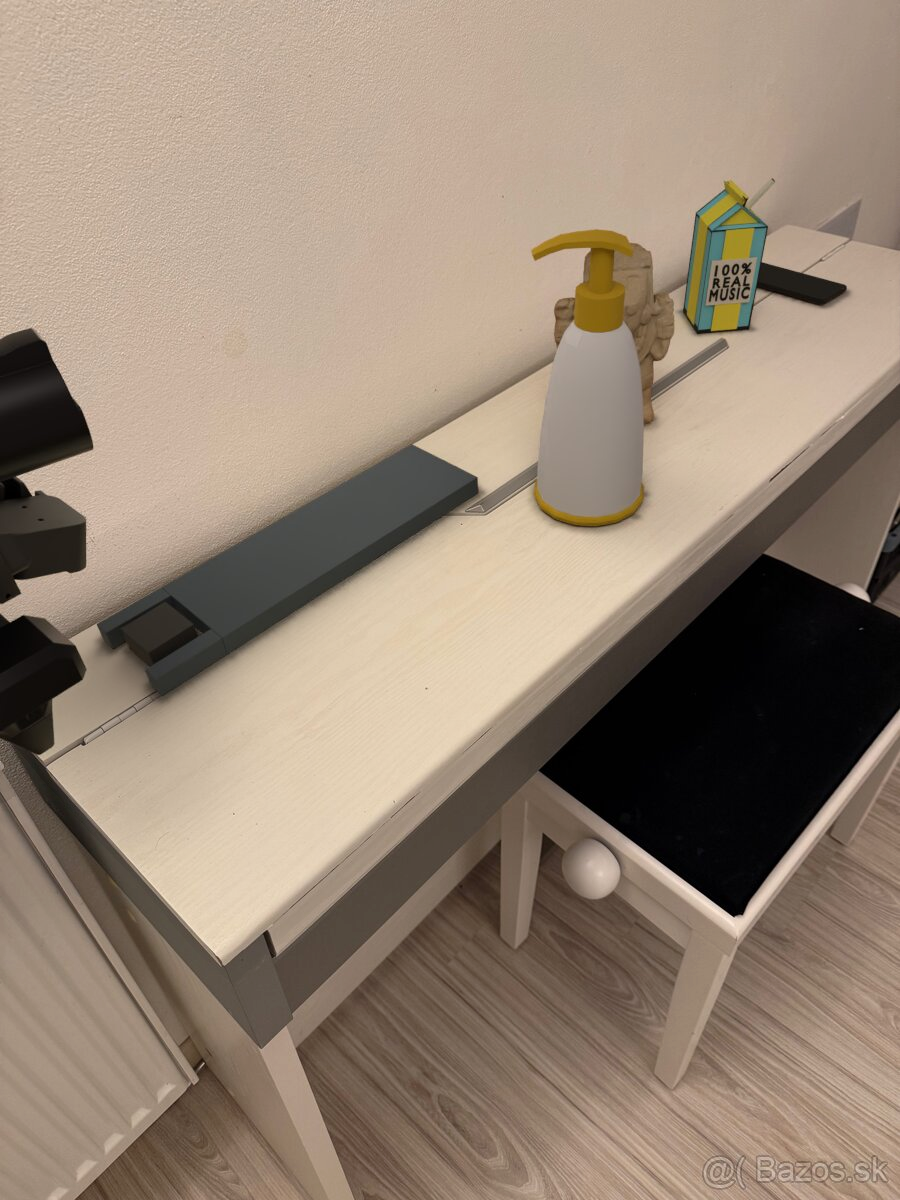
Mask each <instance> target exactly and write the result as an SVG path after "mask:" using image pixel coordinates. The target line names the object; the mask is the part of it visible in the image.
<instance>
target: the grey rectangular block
mask: <svg viewBox="0 0 900 1200" xmlns="http://www.w3.org/2000/svg"><path fill="white" fill-rule="evenodd" d="M477 494H479V477H478V476H476V475H474V474H472V473H470V472H468V471H467V470H464V469H462V468H460V467H458V466H456V465H454V464H452V463H450V462H448V461H446V460H444V459H443V458H441V457H438V456H437V455H435V454H433V453H431V452H429V451H427V450H425V449H422V448H420V447H418V446H417V445H414V444H413V443H411V444H409V445H407V446H406V447H403V448H402V449H401V450H399V451H397V452H394V453H393V454H391V455H390V456H388V457H385V459H383V460H381V461H379V462H378V463H376V464H374V465H372V466H371V467H368V468H367V469H365V470H363V471H362V472H360V473H358V474H356V475H355V476H353V477H351V478H350V479H348V480H346V481H344V482H343V483H341V484H339V485H337V486H335V487H333V488H332V489H330V490H328V491H327V492H325V493H323V494H321V495H320V496H317V497H316V498H314V499H313V500H311V501H309V502H308V503H305V504H304V505H302V506H301V507H299V508H297V509H295V510H293V511H292V512H290V513H288V514H286V515H284V516H283V517H281V518H279V519H278V520H276V521H274V522H272V523H271V524H269V525H267V526H266V527H263V528H262V529H260V530H258V531H257V532H255V533H253V534H251V535H250V536H248V537H246V538H244V539H243V540H241V541H239V542H237V543H236V544H234V545H232V546H230V547H228V548H227V549H225V550H223V551H221V552H219V553H217V554H216V555H214V556H213V557H211V558H209V559H207V560H205V561H204V562H202V563H200V564H198V565H197V566H195V567H193V568H192V569H190V570H189V571H186V572H185V573H183V574H181V575H179V576H178V577H176V578H174V579H172V580H171V581H168V582H167V583H166V584H164V585H162V586H161V587H158V588H156V589H155V590H153V591H151V592H149V593H148V594H146V595H145V596H143V597H141V598H139V599H138V600H136V601H134V602H132V603H130V604H129V605H127V606H125V607H123V608H121V609H120V610H119V611H117V612H114V613H113V614H111V615H110V616H108V617H106V618H104V619H102V620H101V621H99V622H98V623H96V627H97V629H98V631H99V634H100V636H101V637H102V640H103V641H104V642H105V643H106V644H107V645H108V646H109V647H110V648H111V649H113V650H114V649H115V648H118V647H119V646H121V645H122V644H124V643H127V642H126V640H125V638H124V635H123V633H122V631H121V628H123V627H124V626H126V625H128V624H129V623H131V622H133V621H134V620H136V619H137V618H139V617H141V616H142V615H144V614H146V613H147V612H149V611H151V610H152V609H154V608H156V607H157V606H159V605H161V604H162V603H164V602H166V603H167V604H169V605H170V606H171V607H173V608H174V609H175V610H176V611H178V612H179V613H180V614H181V615H183V616H184V617H185V618H186V619H188V620H189V621H190V622H192V623H193V624H194V626H195V629H196V630H199V632H201V633H202V634H200V635H198V637H197V638H196V639H194V640H192V641H191V642H189V643H187V644H186V645H184V646H183V647H181V648H179V649H178V650H176V651H175V652H173V653H171V654H170V655H168V656H166V657H165V658H163V659H162V660H160V661H158V662H157V663H155V664H154V665H152V666H148V667H147V668H146V669H145V670H144V672H145V675H146V677H147V679H148V681H149V683H150V686H151V687H152V688H153V690H155V691H156V692H157V693H158V694H159V695H160V696H161V697H163V696H165V695H166V694H168V693H170V692H171V691H173V690H174V689H176V688H178V686H180V685H182V684H184V683H185V682H186V681H188V680H190V679H191V678H193V677H194V676H196V675H198V674H199V673H200V672H202V671H204V670H205V669H207V668H208V667H210V666H211V665H213V664H214V663H216V662H217V661H220V660H221V659H222V658H224V657H225V656H228V655H229V654H231V653H232V652H234V651H235V650H236V649H238V648H240V647H241V646H242V645H244V644H246V643H248V642H249V641H250V640H252V639H254V638H255V637H257V636H258V635H260V634H261V633H264V632H265V631H266V630H268V629H270V628H271V627H272V626H273V625H276V623H279V622H280V621H282V620H284V619H285V618H287V617H288V616H290V615H291V614H293V613H294V612H295V611H297V610H298V609H300V608H302V607H303V606H305V605H306V604H308V603H309V602H311V601H313V600H314V599H316V598H317V597H319V596H320V595H322V594H324V593H325V592H327V591H328V590H330V589H331V588H333V587H335V586H336V585H337V584H339V583H340V582H343V581H344V580H346V579H347V578H349V577H350V576H352V575H353V574H355V573H356V572H359V570H361V569H362V568H364V567H366V566H367V565H369V564H371V562H374V561H375V560H376V559H378V558H379V557H381V556H382V555H384V554H386V553H387V552H389V551H390V550H392V549H393V548H395V547H397V546H398V545H400V544H402V542H404V541H406V540H407V539H409V538H410V537H412V536H413V535H415V534H417V533H418V532H420V531H421V530H423V529H425V528H426V527H428V526H429V525H431V524H433V522H435V521H437V520H438V519H440V518H442V517H443V516H445V515H447V514H448V513H449V512H451V511H453V510H454V509H456V508H457V507H458V506H460V505H462V504H464V503H465V502H467V501H468V500H470V499H471V498H473V497H474V496H476V495H477Z"/></svg>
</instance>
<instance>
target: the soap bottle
mask: <svg viewBox="0 0 900 1200" xmlns="http://www.w3.org/2000/svg"><path fill="white" fill-rule="evenodd" d="M630 243H631V242H630V241H629V238H628V237H627V236H626V235H624V234H622V233H619V232H616V231H614V230H609V229H597V228H596V229H595V228H594V229H588V230H587V229H586V230H577V231H572V232H566V233H561V234H558V235H556V236H553V237H552V238H549V239H547V240H545V241H543V242H542V243H540V244H538V245H536V246H535V247H533V248H531V249H530V252H531V255H532V258H533V260H534V261H535V262H536V261H538V260H540V259H542V258H545V257H547V256H549V255H551V254H554V253H558V252H560V251H563V250H573V249H590V251H591V253H590V273H589V281H586V282H583V281H582V282H580V283H579V284H577V286H575V289H574V290H575V291H574V298H575V313H574V320H573V321H572V323H571V324H570V325H569V327H568V328H567V329H566V331H565V332H564V334H563V337H562V339H561V341H560V344H559V346H558V349H557V348H556V352H555V356H554V359H553V362H552V365H551V369H550V375H549V380H548V385H547V389H546V396H545V401H544V408H543V413H542V420H541V426H540V434H539V445H538V456H537V473H536V475H537V477H536V479H535V481H534V488H533V497H534V498H535V501H536V502H537V504H538V507H539V508H540V510H541V511H543V512H544V513H546V514H547V515H548V516H549V517H551V518H553V519H554V520H557V521H559V522H563V523H566V524H568V525H569V524H570V525H572V526H583V527H584V526H585V527H600V526H606V525H611V524H615V523H619V522H620V521H623V520H624V519H626V518H628V517H630V516H632V515H634V514H635V512H636V511H637V510H638V508H639V507H640V506H641V504H642V503H643V501H644V496H645V495H644V493H645V492H644V489H645V488H644V487H645V486H644V485H643V483H642V479H643V469H644V438H645V435H644V434H645V433H644V431H645V423H644V418H643V394H642V382H641V369H640V364H639V358H638V353H637V349H636V346H635V342H634V339H633V336H632V333H631V331H630V330H629V328H628V327H627V325H626V324H625V322H624V321H623V312H624V299H625V287H624V286H623V285H622V284H621V283H618V282H616V281H613V267H614V253H615V251H618V252H620V253H623V254H625V255H627V256H629V257H632V255H633V252H634V251H633V249H632V247H631V245H630Z"/></svg>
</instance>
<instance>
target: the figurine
mask: <svg viewBox="0 0 900 1200" xmlns="http://www.w3.org/2000/svg"><path fill="white" fill-rule="evenodd" d="M629 243H630V245H631V247H632V249H633V251H634V252H633V255H632V257H629V256H627V255H625V254H623V253H620V252H618V251H615V253H614V267H613V281H616V282H618V283H621V284H622V285H623V286H624V287H625V299H624V312H623V321H624V322H625V324H626V325H627V327H628V328H629V330H630V331H631V333H632V336H633V339H634V342H635V346H636V349H637V353H638V358H639V364H640V369H641V382H642V394H643V418H644V424H648V423H650V422H652V421H653V420H654V417H655V411H654V408H653V402H652V388H653V387H652V386H653V384H654V378H655V377H654V376H655V372H654V371H655V370H654V362H659V361H662V360H663V359H664V358H665V357H666V356H667V354H668V352H669V348H670V345H671V340H672V338H673V336H674V334H675V314H674V312H675V308H674V307H675V302H674V299H673V298H671V297H670V295H669V294H668V292H658V293H655V294H654V273H653V272H654V264H653V257H652V252H651V251H650V250H648V249H646V248H645V247H643V246H642V245H641V244H639V243H636V242H629ZM590 253H591V250H590V251H588V252H587V253H586V255H585V256H584V260H583V274H582V277H583V279H582V280H583V281H582V283H583V282H586V281H589V273H590ZM574 313H575V297H573V296H572V297H563V298H560V299H558V300H557V301H556V303H555V304H554V307H553V315H554V318H555V321H554V322H555V323H554V331H553V336H554V337H553V338H554V342H555V344H556V350H557V349H558V346H559V344H560V341H561V339H562V337H563V334H564V332H565V331H566V329H567V328H568V327H569V325H570V324H571V323H572V321H573V320H574Z"/></svg>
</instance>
